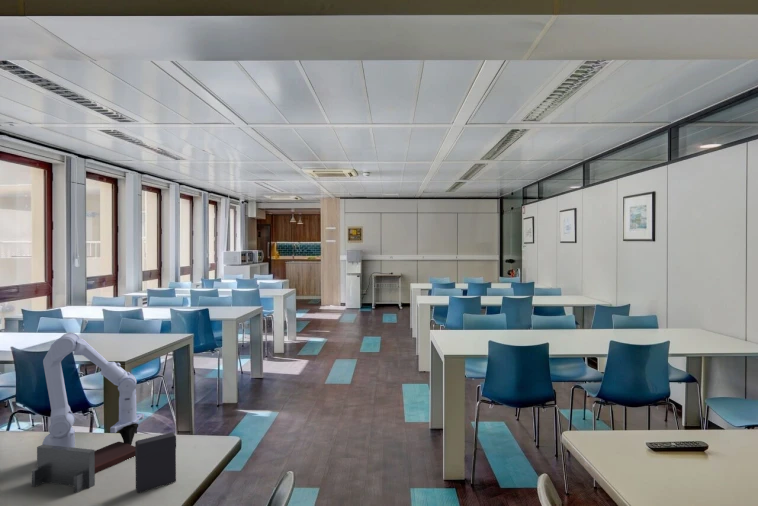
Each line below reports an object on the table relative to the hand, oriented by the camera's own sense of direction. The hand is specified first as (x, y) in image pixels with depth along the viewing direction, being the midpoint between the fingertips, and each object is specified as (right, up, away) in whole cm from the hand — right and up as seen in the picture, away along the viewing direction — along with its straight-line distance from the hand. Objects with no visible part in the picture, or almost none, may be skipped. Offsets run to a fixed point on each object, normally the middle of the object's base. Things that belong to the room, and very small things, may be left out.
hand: (128, 444), depth 169 cm
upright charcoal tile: (+24, -1, -27) cm, 36 cm away
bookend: (-6, -1, -27) cm, 28 cm away
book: (-3, -2, -11) cm, 11 cm away
